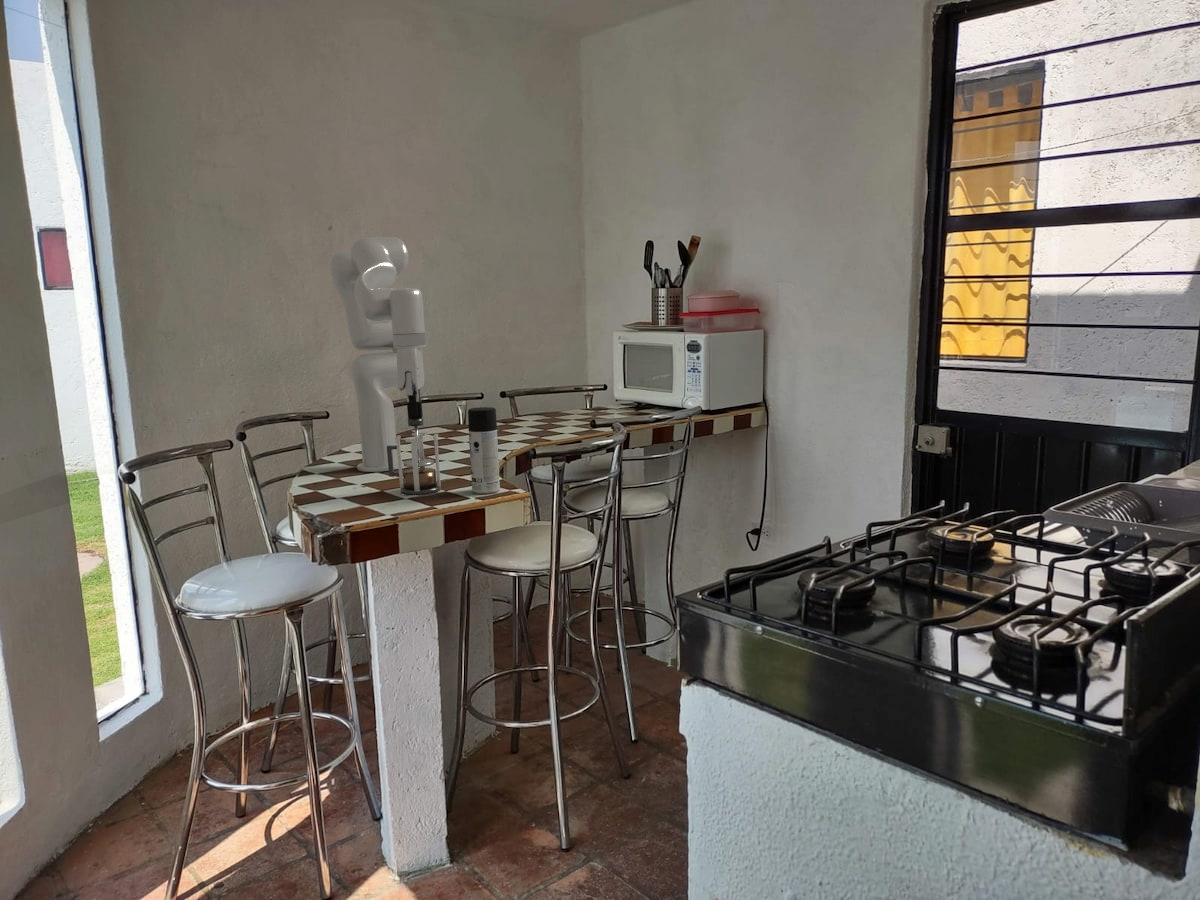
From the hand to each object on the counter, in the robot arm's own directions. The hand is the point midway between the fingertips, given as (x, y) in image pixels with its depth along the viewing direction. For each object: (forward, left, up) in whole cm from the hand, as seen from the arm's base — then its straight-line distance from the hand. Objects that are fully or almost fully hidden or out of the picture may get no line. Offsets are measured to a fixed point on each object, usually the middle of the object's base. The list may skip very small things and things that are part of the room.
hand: (415, 418), depth 208 cm
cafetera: (0, -1, -18) cm, 18 cm away
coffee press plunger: (0, 0, -11) cm, 11 cm away
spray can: (+3, +16, -18) cm, 24 cm away
